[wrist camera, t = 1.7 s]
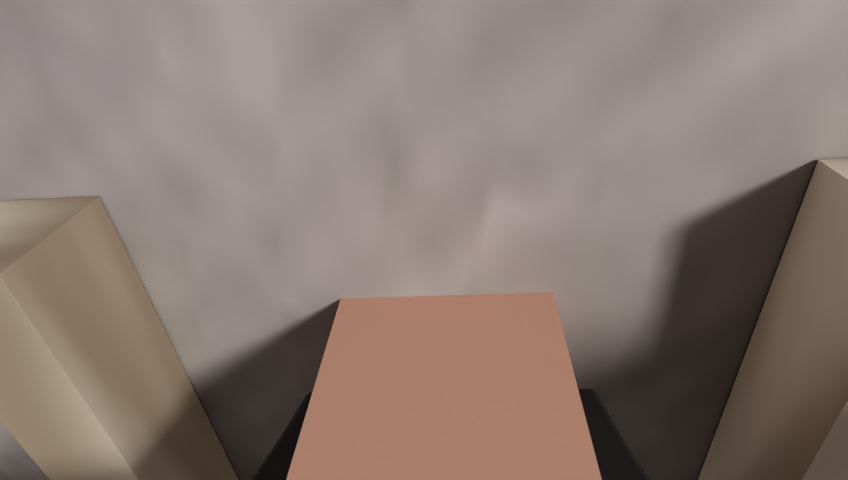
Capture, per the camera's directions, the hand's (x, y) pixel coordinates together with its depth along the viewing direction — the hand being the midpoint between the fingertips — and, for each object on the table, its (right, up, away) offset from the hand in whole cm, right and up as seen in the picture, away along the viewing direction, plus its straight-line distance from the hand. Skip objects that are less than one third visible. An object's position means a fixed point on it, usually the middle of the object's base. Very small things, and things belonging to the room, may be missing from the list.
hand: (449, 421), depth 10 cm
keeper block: (0, +1, +1) cm, 2 cm away
